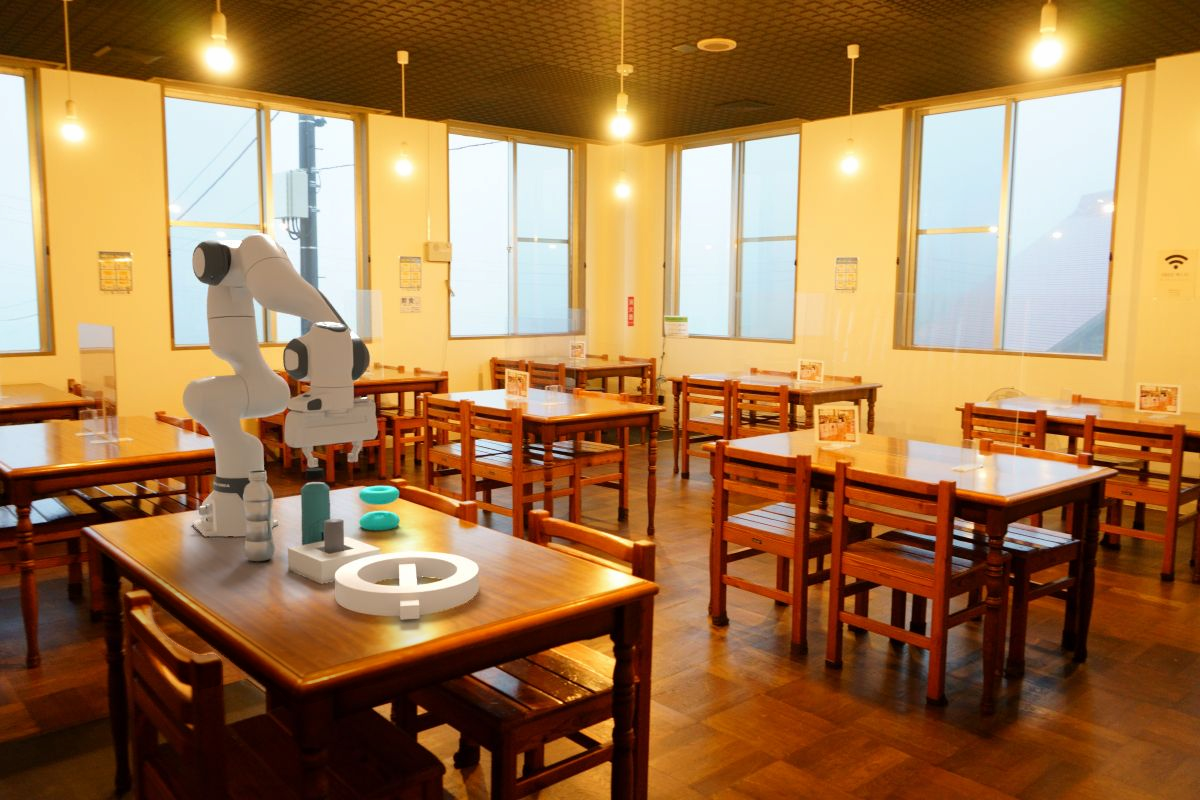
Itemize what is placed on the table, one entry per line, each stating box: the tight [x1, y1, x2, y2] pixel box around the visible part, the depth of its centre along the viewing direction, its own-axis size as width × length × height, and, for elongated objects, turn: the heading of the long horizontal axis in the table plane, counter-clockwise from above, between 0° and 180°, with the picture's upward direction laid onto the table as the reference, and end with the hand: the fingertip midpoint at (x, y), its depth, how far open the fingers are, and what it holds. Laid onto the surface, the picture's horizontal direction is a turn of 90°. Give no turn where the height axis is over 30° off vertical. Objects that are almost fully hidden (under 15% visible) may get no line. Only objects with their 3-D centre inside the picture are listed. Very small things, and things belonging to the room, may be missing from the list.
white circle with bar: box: [334, 551, 480, 621], centre depth 182 cm, size 28×28×5 cm
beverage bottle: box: [300, 467, 331, 545], centre depth 206 cm, size 6×7×20 cm
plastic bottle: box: [243, 469, 276, 562], centre depth 201 cm, size 6×7×20 cm
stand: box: [287, 536, 382, 584], centre depth 196 cm, size 14×14×5 cm
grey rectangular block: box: [324, 518, 345, 554], centre depth 195 cm, size 4×4×10 cm
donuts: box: [358, 485, 401, 532], centre depth 233 cm, size 10×10×10 cm
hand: (333, 464), depth 193 cm, fingers open, 8 cm apart
